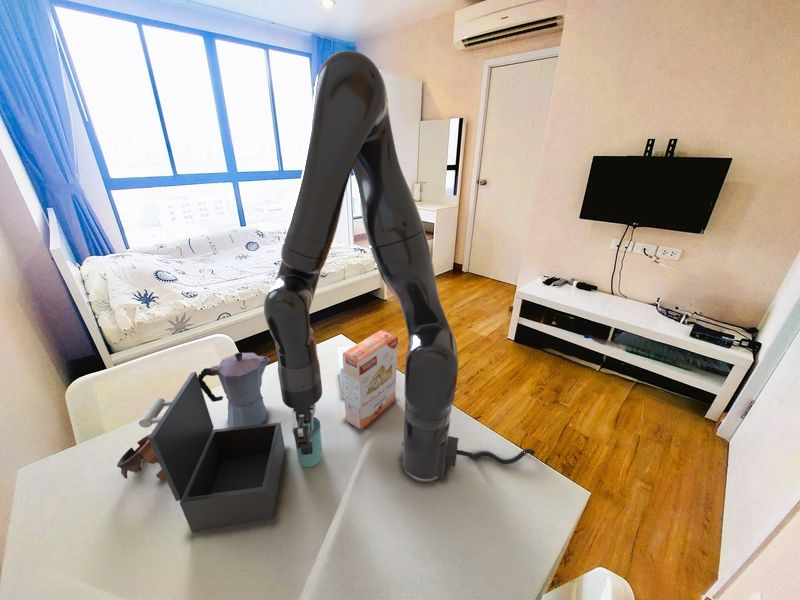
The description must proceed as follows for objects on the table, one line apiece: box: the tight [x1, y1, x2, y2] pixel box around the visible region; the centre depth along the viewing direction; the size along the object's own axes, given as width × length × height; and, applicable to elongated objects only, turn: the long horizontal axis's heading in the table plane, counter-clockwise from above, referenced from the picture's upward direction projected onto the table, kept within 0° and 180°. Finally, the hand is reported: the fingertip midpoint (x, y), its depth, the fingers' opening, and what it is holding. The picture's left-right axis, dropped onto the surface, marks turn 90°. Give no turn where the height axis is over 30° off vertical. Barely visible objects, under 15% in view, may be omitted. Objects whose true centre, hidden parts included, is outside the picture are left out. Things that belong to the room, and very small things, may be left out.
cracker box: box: [343, 329, 399, 430], centre depth 80 cm, size 14×6×21 cm, turn 143°
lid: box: [138, 371, 215, 502], centre depth 56 cm, size 14×16×5 cm
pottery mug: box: [116, 433, 166, 480], centre depth 68 cm, size 12×10×8 cm
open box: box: [179, 421, 286, 533], centre depth 63 cm, size 14×16×9 cm
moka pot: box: [197, 352, 271, 428], centre depth 76 cm, size 10×15×20 cm, turn 124°
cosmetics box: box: [337, 344, 356, 399], centre depth 92 cm, size 10×6×10 cm, turn 14°
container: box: [292, 416, 324, 468], centre depth 68 cm, size 6×6×9 cm
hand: (308, 440), depth 68 cm, fingers closed on container, 5 cm apart
